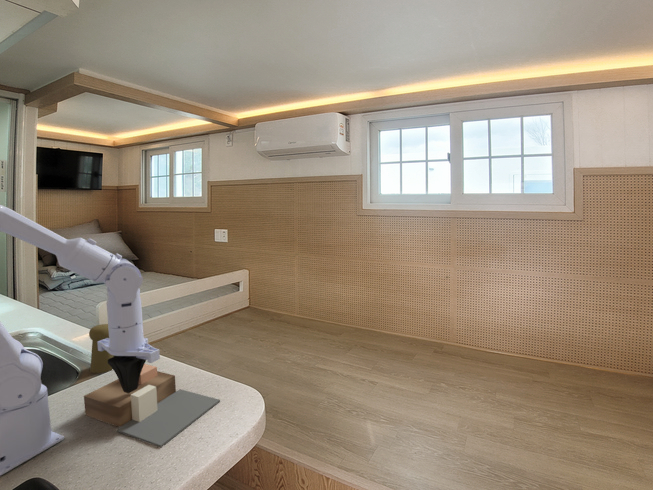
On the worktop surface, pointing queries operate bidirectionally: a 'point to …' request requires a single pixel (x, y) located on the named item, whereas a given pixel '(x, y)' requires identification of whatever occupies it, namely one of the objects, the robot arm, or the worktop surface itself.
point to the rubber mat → (169, 417)
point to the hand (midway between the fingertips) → (130, 390)
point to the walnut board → (123, 399)
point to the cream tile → (144, 403)
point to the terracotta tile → (147, 373)
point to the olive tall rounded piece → (99, 357)
